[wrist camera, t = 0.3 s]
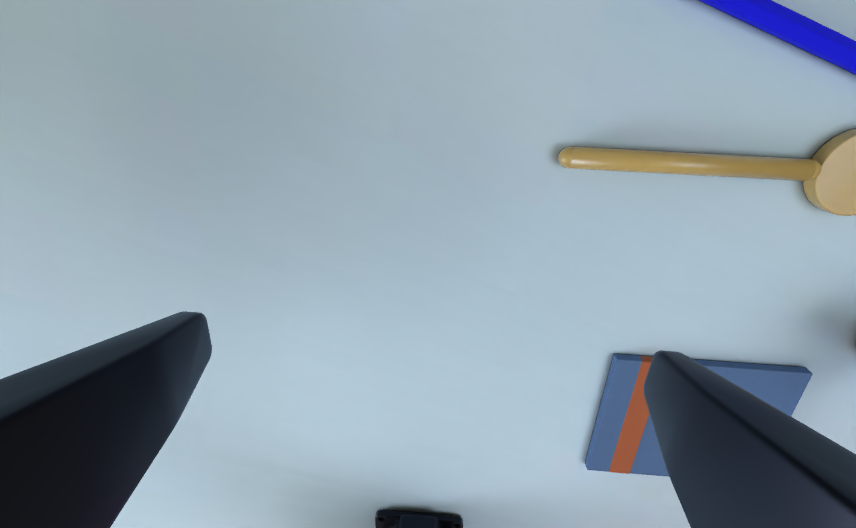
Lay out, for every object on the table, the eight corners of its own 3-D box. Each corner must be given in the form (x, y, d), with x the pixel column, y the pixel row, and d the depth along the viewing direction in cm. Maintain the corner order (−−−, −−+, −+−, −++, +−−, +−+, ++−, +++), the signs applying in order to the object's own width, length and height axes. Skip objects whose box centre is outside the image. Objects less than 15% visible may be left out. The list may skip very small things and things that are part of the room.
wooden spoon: (550, 194, 22) (554, 200, 21) (563, 111, 20) (568, 113, 19) (873, 213, 21) (891, 219, 20) (914, 128, 20) (936, 132, 19)
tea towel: (751, 476, 29) (757, 484, 28) (584, 462, 29) (587, 470, 29) (805, 366, 25) (813, 374, 25) (613, 353, 26) (617, 359, 25)
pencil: (950, 94, 19) (974, 95, 18) (933, 114, 19) (956, 116, 19) (608, -71, 17) (617, -79, 17) (597, -45, 18) (604, -52, 17)
